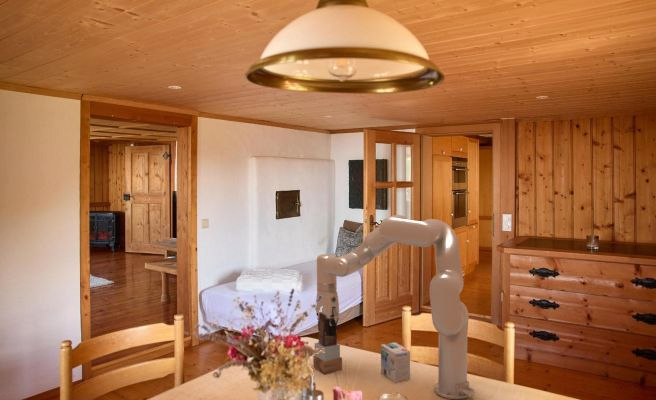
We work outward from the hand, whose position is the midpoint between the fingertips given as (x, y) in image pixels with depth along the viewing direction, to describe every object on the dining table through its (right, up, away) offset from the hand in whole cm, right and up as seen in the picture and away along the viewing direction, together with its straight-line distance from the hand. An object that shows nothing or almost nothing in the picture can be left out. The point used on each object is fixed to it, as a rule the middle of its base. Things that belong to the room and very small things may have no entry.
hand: (327, 332), depth 187 cm
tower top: (0, -9, 0) cm, 9 cm away
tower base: (0, -14, +1) cm, 14 cm away
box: (0, -5, 0) cm, 5 cm away
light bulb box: (+25, -15, -6) cm, 30 cm away
